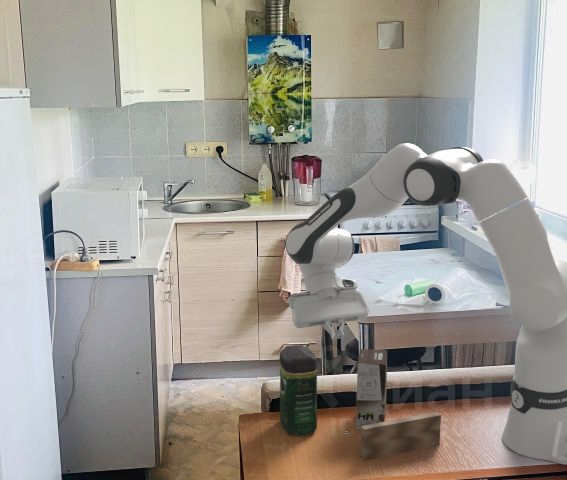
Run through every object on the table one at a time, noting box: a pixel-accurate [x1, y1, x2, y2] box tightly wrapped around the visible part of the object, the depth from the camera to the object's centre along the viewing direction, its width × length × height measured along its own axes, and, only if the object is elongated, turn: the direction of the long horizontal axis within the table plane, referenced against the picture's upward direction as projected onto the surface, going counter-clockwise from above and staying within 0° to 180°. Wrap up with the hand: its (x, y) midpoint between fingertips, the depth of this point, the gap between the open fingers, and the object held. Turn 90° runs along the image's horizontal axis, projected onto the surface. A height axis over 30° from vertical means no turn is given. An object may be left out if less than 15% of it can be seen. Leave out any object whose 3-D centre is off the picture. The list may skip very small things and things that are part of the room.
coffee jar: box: [279, 344, 318, 437], centre depth 154 cm, size 10×8×19 cm
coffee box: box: [355, 348, 388, 431], centre depth 156 cm, size 9×6×16 cm
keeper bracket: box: [360, 411, 442, 461], centre depth 146 cm, size 18×6×7 cm, turn 109°
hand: (338, 337), depth 173 cm, fingers closed
